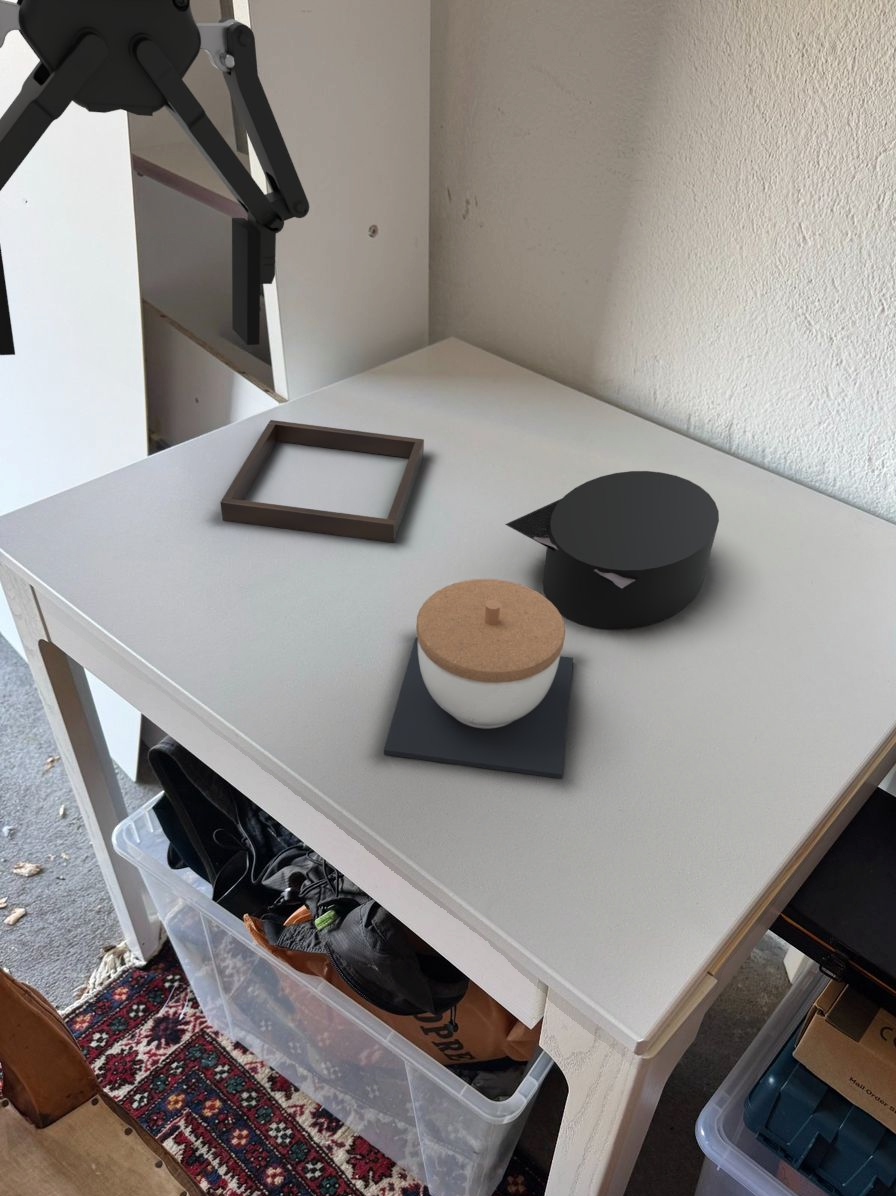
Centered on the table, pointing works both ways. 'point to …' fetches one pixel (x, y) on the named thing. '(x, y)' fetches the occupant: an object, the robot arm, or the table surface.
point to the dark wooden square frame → (318, 519)
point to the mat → (481, 729)
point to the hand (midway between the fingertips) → (131, 341)
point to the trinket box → (488, 650)
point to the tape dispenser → (624, 548)
